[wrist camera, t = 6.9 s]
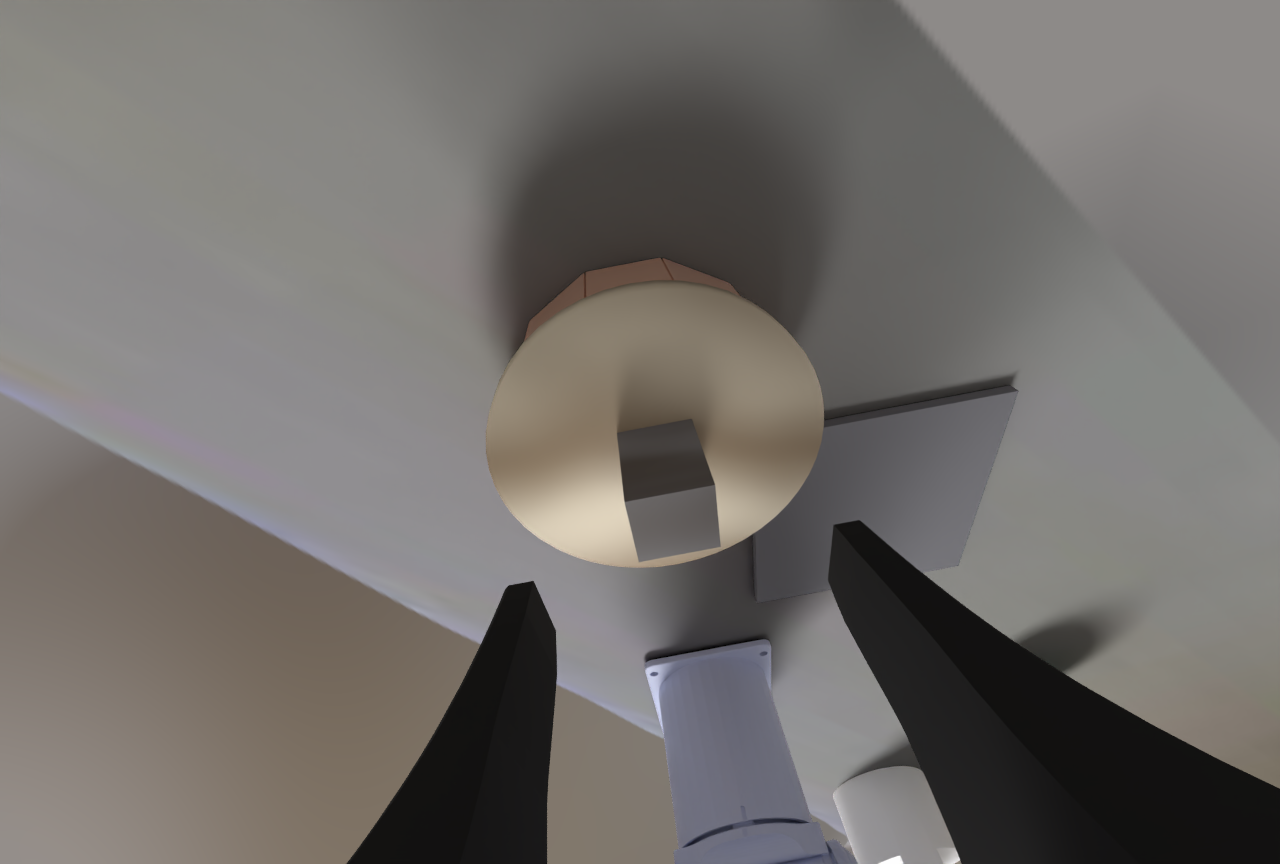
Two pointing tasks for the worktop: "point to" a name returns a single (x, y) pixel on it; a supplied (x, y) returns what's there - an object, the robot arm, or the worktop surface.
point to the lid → (654, 424)
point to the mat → (887, 488)
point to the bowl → (622, 283)
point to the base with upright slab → (894, 818)
